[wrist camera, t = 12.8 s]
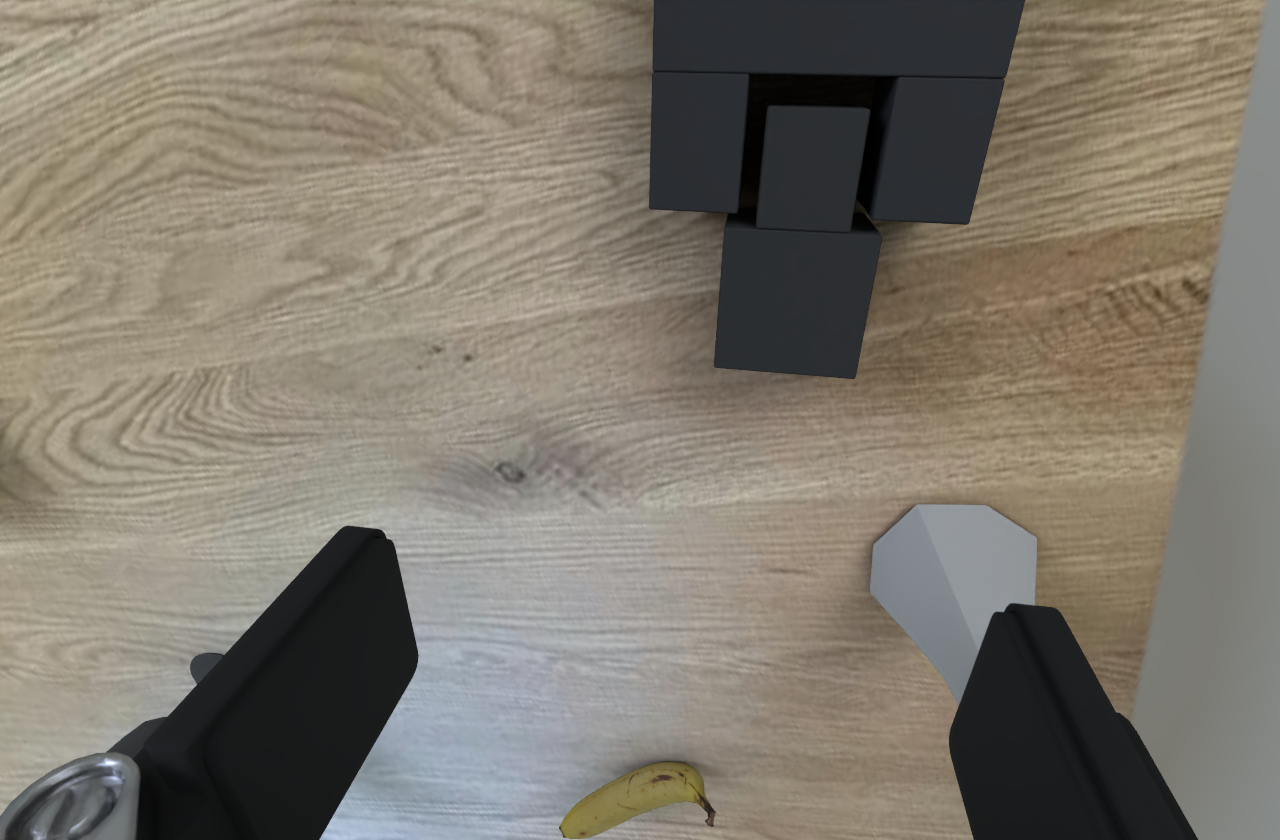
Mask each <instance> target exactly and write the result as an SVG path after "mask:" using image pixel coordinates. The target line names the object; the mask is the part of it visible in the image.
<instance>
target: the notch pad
mask: <svg viewBox="0 0 1280 840" xmlns="http://www.w3.org/2000/svg"><path fill="white" fill-rule="evenodd" d="M1024 3H1025V0H654V26H653V67H652V69H653V71H654V72H653V74H652V109H651V151H650V192H649V208H650V209H654V210H674V211H695V212H715V213H737V212H738V207H739V201H740V196H741V187H742V175H743V164H744V153H745V141H746V130H747V118H748V107H749V95H750V84H751V75H801V76H852V77H878V78H877V79H876V84H875V90H874V96H873V102H872V108H871V114H870V120H869V126H868V132H867V138H866V144H865V150H864V156H863V162H862V168H861V174H860V180H859V186H858V192H857V200H858V202H859V203H860V204H861V205H862V207H863V208H864V209H865V210H866V212H867V213H868V214H869V215H870V217H871V218H872V219H873V220H881V221H901V222H922V223H942V224H963V225H966V224H968V223H969V222H970V218H971V214H972V210H973V206H974V202H975V198H976V194H977V190H978V186H979V182H980V178H981V174H982V170H983V166H984V162H985V158H986V154H987V150H988V146H989V142H990V138H991V134H992V130H993V126H994V122H995V118H996V114H997V110H998V106H999V102H1000V98H1001V94H1002V90H1003V86H1004V79H1002V78H1005V77H1006V75H1007V71H1008V67H1009V63H1010V59H1011V55H1012V51H1013V47H1014V43H1015V39H1016V35H1017V31H1018V27H1019V23H1020V19H1021V15H1022V11H1023V7H1024ZM749 74H750V75H749Z"/></svg>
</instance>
